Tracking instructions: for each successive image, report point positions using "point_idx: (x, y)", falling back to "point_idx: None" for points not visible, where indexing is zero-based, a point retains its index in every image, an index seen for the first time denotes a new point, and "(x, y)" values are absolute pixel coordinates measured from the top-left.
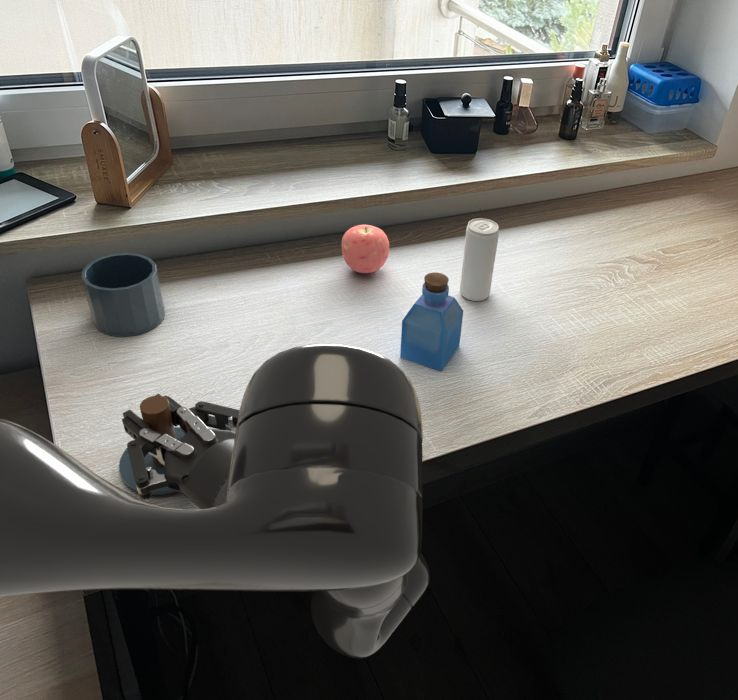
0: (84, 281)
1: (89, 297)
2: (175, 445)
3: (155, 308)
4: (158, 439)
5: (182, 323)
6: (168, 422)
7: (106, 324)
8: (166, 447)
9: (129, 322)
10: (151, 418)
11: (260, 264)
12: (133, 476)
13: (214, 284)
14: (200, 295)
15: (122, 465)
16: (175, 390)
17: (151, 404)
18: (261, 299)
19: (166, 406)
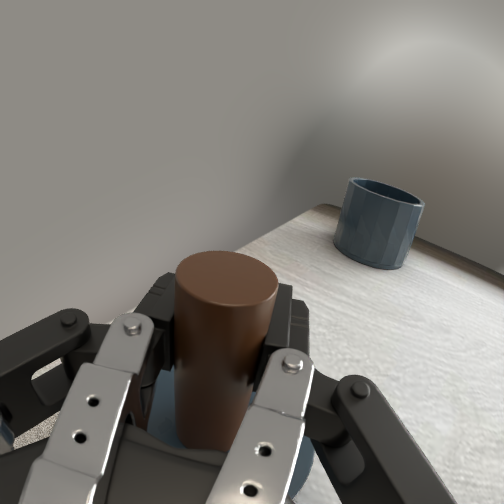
0: (349, 179)
1: (344, 198)
2: (75, 449)
3: (398, 246)
4: (90, 370)
5: (413, 282)
6: (222, 362)
7: (342, 234)
8: (62, 418)
9: (363, 242)
10: (178, 304)
11: (501, 286)
12: None
13: (458, 275)
14: (442, 274)
15: None
16: (350, 339)
17: (222, 269)
18: (497, 311)
19: (244, 302)
